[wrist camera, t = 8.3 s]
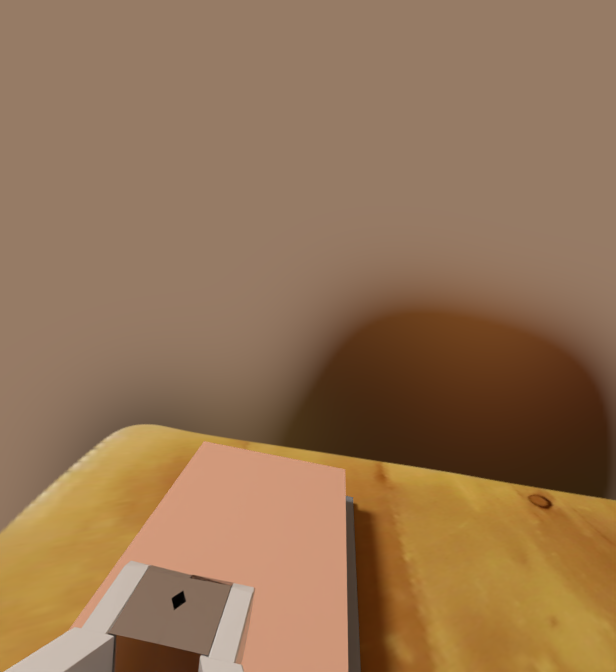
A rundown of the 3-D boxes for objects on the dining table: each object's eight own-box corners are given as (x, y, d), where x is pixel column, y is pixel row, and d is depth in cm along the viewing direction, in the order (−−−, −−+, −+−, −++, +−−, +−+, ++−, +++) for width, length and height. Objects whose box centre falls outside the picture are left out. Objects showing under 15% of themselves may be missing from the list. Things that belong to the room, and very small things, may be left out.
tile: (350, 803, 10) (345, 469, 26) (4, 719, 11) (204, 441, 26) (334, 858, 11) (338, 499, 26) (6, 776, 11) (200, 471, 27)
